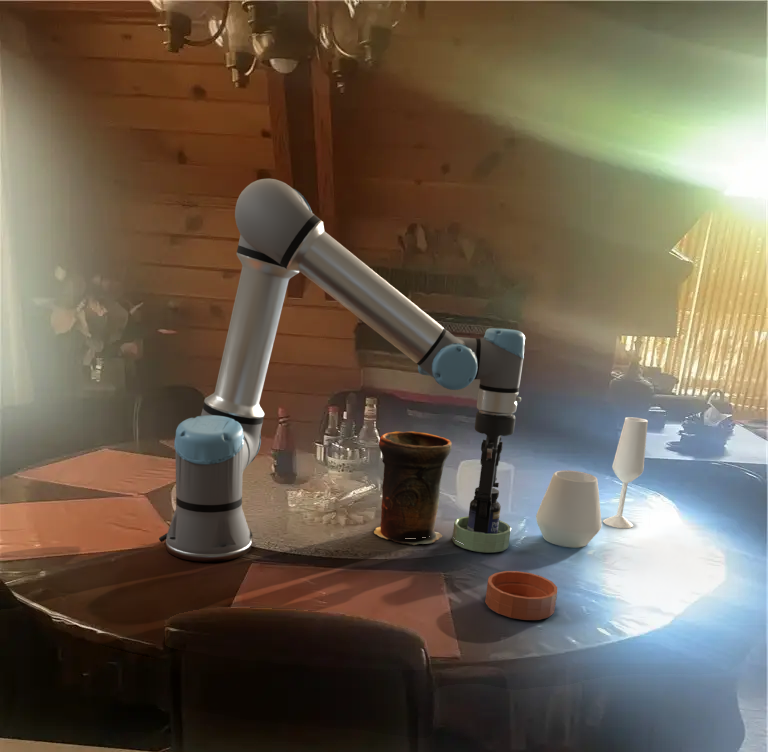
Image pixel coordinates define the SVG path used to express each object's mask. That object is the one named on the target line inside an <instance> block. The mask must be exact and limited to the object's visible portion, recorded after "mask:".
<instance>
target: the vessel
mask: <svg viewBox="0 0 768 752" xmlns="http://www.w3.org/2000/svg"><path fill="white" fill-rule="evenodd" d="M452 446H453V444H452V441H451V440H450V439H448V438H446V437H442V436H439V435H436V434H432V433H427V432H420V431H419V432H418V431H392V432H391V431H390V432H386V433H384V434H382V435H381V436H380V438H379V441H378V448H379V450H380V452H381V454H382V463H383V479H382V487H381V488H382V489H381V490H382V493H381V494H382V496H381V497H382V498H381V506H380V507H381V513H380V515H381V516H380V526H378V527H375V530H373V533H374V534H375V535H376V536H378V537H379V538H381V539H385V540H390V541H393V542H394V543H399V544H400V543H401V544H407V545H413V546H415V545H419V544H422V545H424V544H427V545H429V544H432V543H435V542H436V541H437V540H438V541H439V540H440V539H441V538H442V537H443V535H442V534H441V532H438V531H435V526H436V521H437V515H438V510H439V504H440V496H441V495H440V494H441V483H442V474H443V471H444V468H445V467H444V466H445V464H446V460H447V459H448V457H449V456H450V454H451V452H452ZM429 536H430V537H429ZM422 537H426V538H422ZM405 538H416V539H405Z"/></svg>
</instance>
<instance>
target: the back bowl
mask: <svg viewBox="0 0 768 752" xmlns="http://www.w3.org/2000/svg"><path fill="white" fill-rule="evenodd" d="M468 517H469V515H468V516H460V517H458V518H457V519H455V520H454V523H453V529H452V531H453V532H452V542H453V543H454V544H455V545H456V546H458V547H460V548H462V549H465V550H468V551H471V552H472V551H473V552H477V553H499V552H504V551H505V550H508V548H509V545H510V539H511V538H510V537H511V532H512V531H511V530H512V526H510V524H508V523H507V522H505V521H503V520H500V519H499V525H498V533H497V534H485V533H477V532H473V531H469V530H467V526H468ZM453 537H454V538H455V539H454V538H453ZM455 540H457V541H459V542H461V543H463V544H464V545H463V544H461V543H459V542H457V541H455Z"/></svg>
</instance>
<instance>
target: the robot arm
mask: <svg viewBox="0 0 768 752" xmlns="http://www.w3.org/2000/svg"><path fill="white" fill-rule="evenodd" d="M234 210H235V211H234V218H235V223H236V228H237V229H238V232H239V234H240V235H239V240H238V244H237V249H236V256H237V258H238V260H239V261H240V264H241V271H240V275H239V280H238V285H237V290H236V294H235V298H234V303H233V307H232V312H231V316H230V320H229V326H228V331H227V335H226V339H225V343H224V347H223V352H222V357H221V360H220V361H221V362H220V367H219V371H218V376H217V380H216V384H215V389H214V392H213V393H211V394H210V395H208V396H207V397H205V398H204V401H203V405H202V409H201V410H202V411H201V414H200V415H197V416H195V417H189V418H186V419H185V420H183V421H181V422H180V423H179V424H178V425H177V427H176V429H175V438H174V441H173V442H174V445H173V446H174V451H175V455H174V456H175V509H174V512H173V516H172V518H171V522H170V524H169V527H168V530H167V532H166V533H164V534H163V535H162V536H159V538H158V540H159V542H161V543H163V542H164V541H165V548H166V551H167V552H168V553H169V554H170V555H172V556H174V557H177V558H179V559H181V560H186V561H191V562H202V563H212V562H214V563H216V562H225V561H231V560H234V559H237V558H240V557H243V556H244V555H246V554H248V553H249V552H250V551H251V549H252V539H253V532H252V530H251V528H249V525H248V522H247V519H246V516H245V513H244V510H243V476H244V475H243V473H244V471H245V470H246V469H247V468H248V466H249V465H250V464H251V463H253V461H254V460H255V459H256V457H257V456H258V453H259V451H260V448H261V443H262V436H261V431H262V426H263V423H264V418H265V412H264V410H263V408H262V407H261V405H260V401H261V397H262V393H263V389H264V385H265V380H266V376H267V372H268V369H269V368H268V367H269V363H270V359H271V356H272V351H273V347H274V343H275V338H276V335H277V331H278V327H279V323H280V318H281V314H282V310H283V306H284V301H285V298H286V293H287V289H288V286H289V281H290V279H292V278H293V277H294V276H296V275H298V274H299V273H300V274H302V275H303V276H304V277H306V278H307V279H308V280H310V281H311V282H312V283H314V284H315V285H316V286H317V287H318V288H320V289H321V290H322V291H323V292H325V293H326V294H327V295H328V296H330V297H331V298H333V299H334V300H335V301H336V302H338V303H339V304H340V305H342V306H343V307H345V309H347V310H348V311H349V312H350V313H352V314H353V315H354V316H356V317H357V318H358V319H359V320H360V321H362V323H365V324H366V325H367V326H368V327H370V328H371V329H372V330H373V331H374V332H376V333H377V334H378V335H380V336H381V337H382V338H383V339H385V340H386V341H387V342H389V343H390V344H391V345H392V346H394V347H395V348H396V349H397V350H399V351H400V352H401V353H403V354H404V355H405V356H406V357H408V358H409V359H410V360H411V361H412V362H413V363H415V364H416V365H417V371H418V373H419V375H422V376H427V377H431V378H433V379H434V380H435V382H436V383H437V384H438V385H440V386H441V387H443V388H444V389H446V390H449V391H450V390H451V391H458V390H459V391H460V390H463V389H465V388H466V387H468V386H470V385H471V384H472V383H473V381H474V380H479V387H478V390H477V400H476V408H477V410H478V411H477V412H476V413H475V422H474V430H475V432H477V433H479V434H483V435H485V436H486V438H485V439H482V442H481V448H480V451H481V455H480V465H481V466H480V473H479V481H478V487H479V489H478V495H477V496H475V495H473V499H474V500H477V506H476V515H475V523H474V531H475V532H482V533H488V526H489V518H490V510H491V502H492V497H491V495H492V488H494V489H498V488H499V485H500V483H499V482H496V481H497V480H498V478H497V473H498V466H499V463H500V462H501V461H500V460H501V454H502V452H503V447H504V441H502V437H509V436H512V435H513V434H514V432H515V426H516V418H517V417H516V416H515V413H516V412H517V407H518V403H521V401H522V397H520V396H518V395H519V393H520V385H521V379H522V378H521V377H522V371H523V364H524V359H525V355H524V354H525V341H526V336H525V334H524V333H523V332H522V331H520V330H517V329H510V328H497V327H496V328H495V327H490V328H489V327H488V328H487V329H486V330H485V333H484V335H483V337H478V338H477V337H476V338H472V337H461V336H455V335H454V334H452V333H451V332H450V331H448V330H447V329H446V328H444V327H443V326H442V324H440V323H438V321H436V320H435V319H434V318H432V317H431V316H430V315H429V314H427V312H425V311H424V310H422V309H421V308H420V307H419V306H418V305H416V304H415V303H414V302H412V301H411V299H409V298H408V297H406V296H405V295H404V294H403V293H402V292H400V291H399V290H398V289H397V288H395V287H394V286H393V285H392V284H390V283H389V282H388V281H387V280H386V279H385V278H383V277H381V276H380V275H379V274H378V273H377V272H376V271H374V270H373V268H370V267H369V266H368V265H367V264H366V263H365V262H364V261H362V260H361V259H360V258H358V257H357V256H356V255H355V254H354V253H352V252H351V251H349V249H347V248H346V247H345V246H344V245H342V244H341V243H340V242H339V241H337V240H336V239H335V238H334V237H332V236H331V235H330V234H329V233H327V232H326V231H325V225H324V221H322V219H320V218H319V217H318V216H317V215H315V213H313V211H312V209H311V205H310V203H308V200H307V199H306V197H304V195H302V193H301V192H300V191H298V190H297V189H296V188H293V187H291V186H290V185H288V184H287V183H286V182H284V181H282V180H278V179H276V178H261V179H257V180H255V181H252V182H251V183H249V184H248V185H247V186H246V187H245V188H244V189H243V190H242V191H241V193H240V194H239V195H238V198H237V200H236V203H235V209H234ZM483 493H486V494H483Z"/></svg>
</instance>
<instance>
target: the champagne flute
mask: <svg viewBox="0 0 768 752" xmlns="http://www.w3.org/2000/svg"><path fill="white" fill-rule="evenodd" d="M623 421H624V422H623V425H622V429H621V433H620V436H619V440H618V442H617V443H618V444H617V448H616V451H615V454H614V458H613V462H612V465H611V466H612V467H611V468H612V471H613V473H614V475H615V476H616V477H617V479H618V480H619V481H621V482H622V484H621V487H620V495H619V500H618V506H617V510H616V511H617V512H616V514H615V515H612V516H610V517H607V518H604V519H603V520H602V522H603V523H604V524H605V525H606V526H609V527H612V528H618V529H631V528H633V527H634V524H633V523H632V522H631V521H629V519H627V518H626V517H624V515H623V512H624V507H625V502H626V496H627V490H628V484H629V483H632V482H634V481H635V480H636V479H638V478H639V477H640V476H641V475H642V474H643V473H644V470H645V468H644V467H645V459H646V458H645V457H646V446H647V445H646V444H647V435H648V434H647V433H648V424H649V423H648V422H649V421H648V420H647V419H645V418H641V417H632V416H627V417H625V418H624V420H623Z"/></svg>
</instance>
